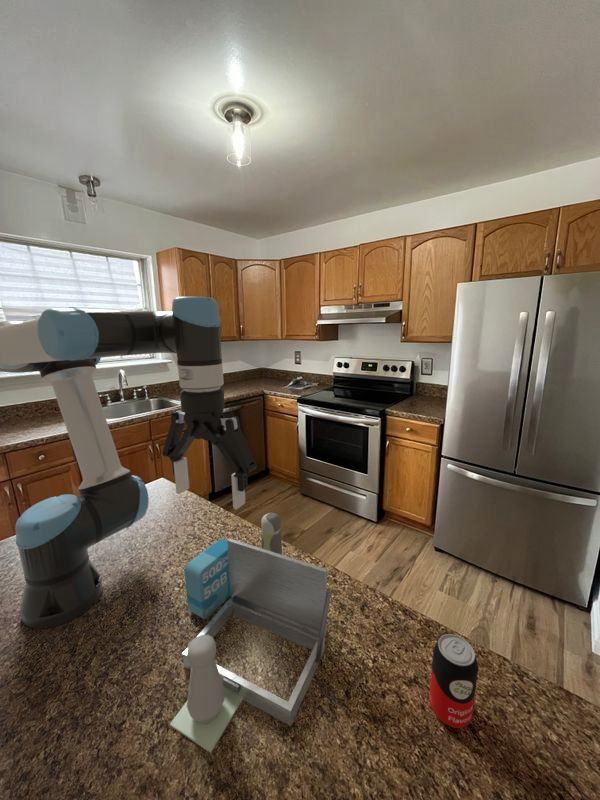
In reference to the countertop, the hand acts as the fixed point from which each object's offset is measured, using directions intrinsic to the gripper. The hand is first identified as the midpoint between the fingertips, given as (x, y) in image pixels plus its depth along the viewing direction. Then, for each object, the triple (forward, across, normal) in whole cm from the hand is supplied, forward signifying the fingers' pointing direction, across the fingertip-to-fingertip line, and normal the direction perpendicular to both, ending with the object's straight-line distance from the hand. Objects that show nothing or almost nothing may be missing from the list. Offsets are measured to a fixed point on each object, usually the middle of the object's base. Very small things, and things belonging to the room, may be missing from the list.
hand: (209, 498), depth 65 cm
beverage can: (+29, +44, +3) cm, 53 cm away
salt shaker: (+28, +9, -14) cm, 33 cm away
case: (+29, +11, -3) cm, 31 cm away
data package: (+29, -5, +5) cm, 30 cm away
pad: (+29, +9, -14) cm, 33 cm away
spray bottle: (+29, +6, +12) cm, 32 cm away
